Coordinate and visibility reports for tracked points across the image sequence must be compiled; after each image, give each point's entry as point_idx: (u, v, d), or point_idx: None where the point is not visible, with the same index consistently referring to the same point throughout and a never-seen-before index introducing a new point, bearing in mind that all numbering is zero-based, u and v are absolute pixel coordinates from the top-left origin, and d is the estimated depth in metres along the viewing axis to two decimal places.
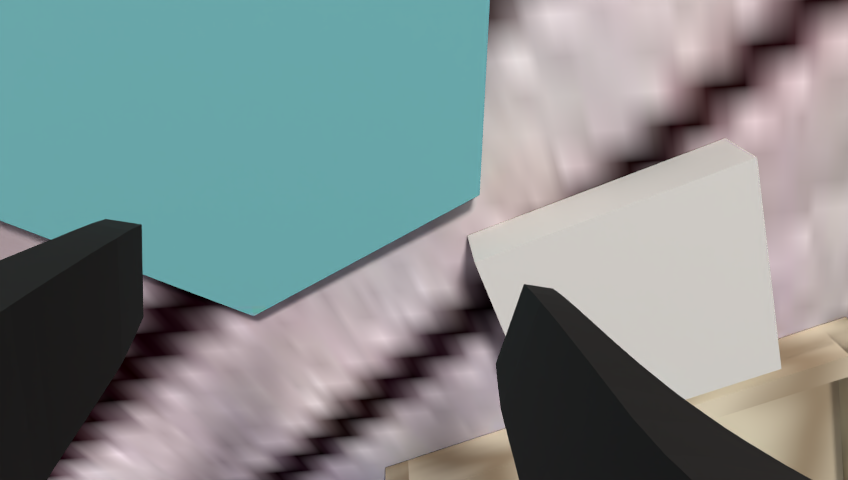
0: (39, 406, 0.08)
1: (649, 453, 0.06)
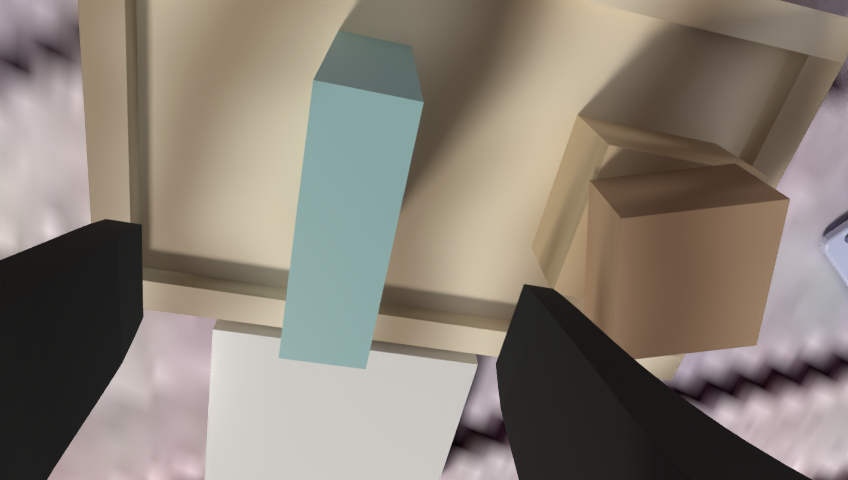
0: (38, 407, 0.08)
1: (649, 453, 0.06)
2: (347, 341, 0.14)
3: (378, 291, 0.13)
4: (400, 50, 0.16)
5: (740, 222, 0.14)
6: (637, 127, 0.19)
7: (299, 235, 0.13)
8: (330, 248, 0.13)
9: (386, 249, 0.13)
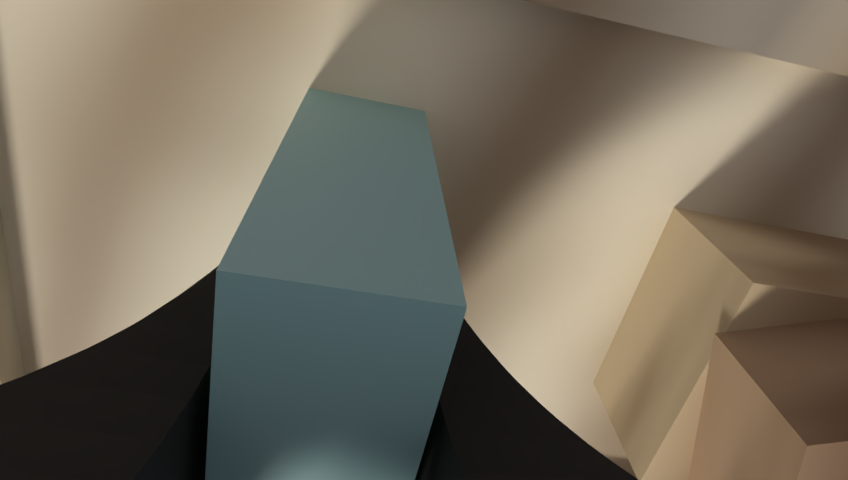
0: None
1: (441, 430, 0.06)
2: None
3: None
4: (408, 124, 0.10)
5: None
6: (762, 224, 0.12)
7: None
8: None
9: None
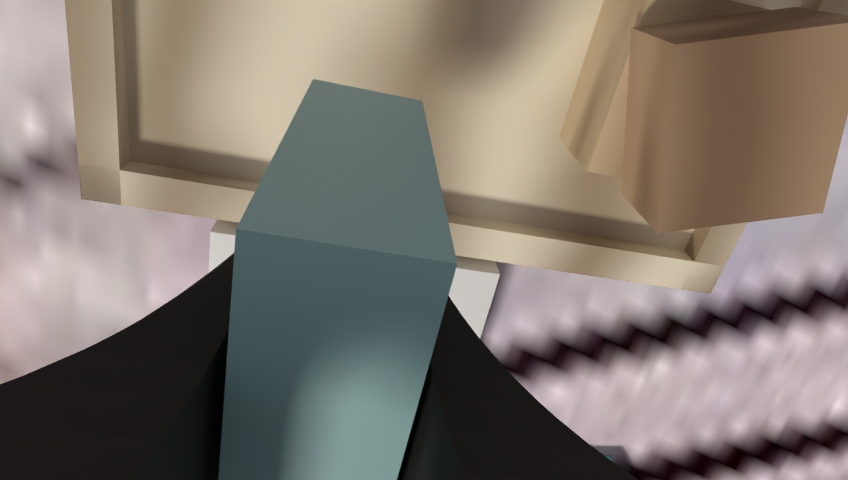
0: None
1: (441, 430, 0.06)
2: None
3: None
4: (406, 112, 0.10)
5: (813, 50, 0.12)
6: None
7: (229, 473, 0.07)
8: None
9: None
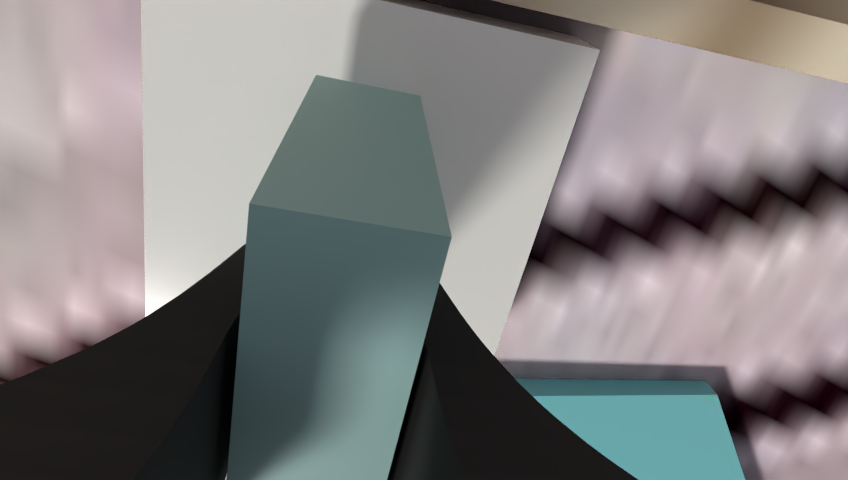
0: (224, 427, 0.08)
1: (441, 430, 0.06)
2: None
3: None
4: (405, 106, 0.11)
5: None
6: None
7: (240, 438, 0.08)
8: (293, 454, 0.08)
9: (385, 453, 0.08)
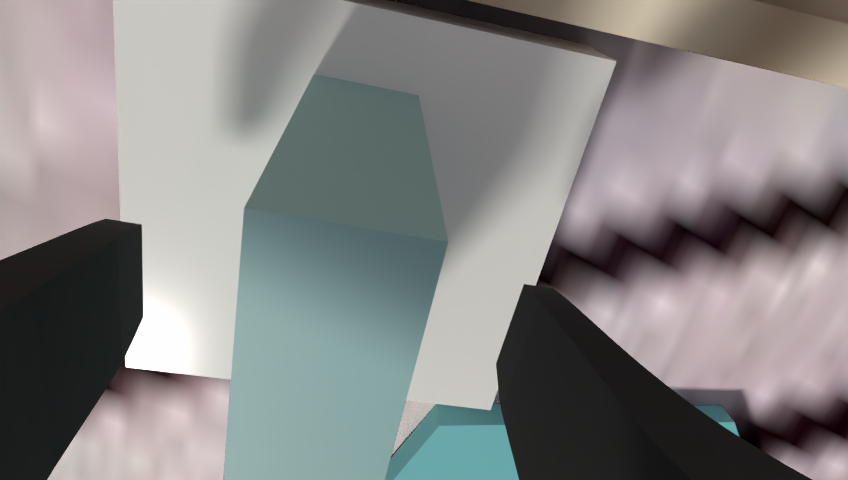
0: (38, 407, 0.08)
1: (649, 453, 0.06)
2: None
3: None
4: (403, 106, 0.11)
5: None
6: None
7: (236, 441, 0.08)
8: (289, 458, 0.08)
9: (382, 456, 0.08)
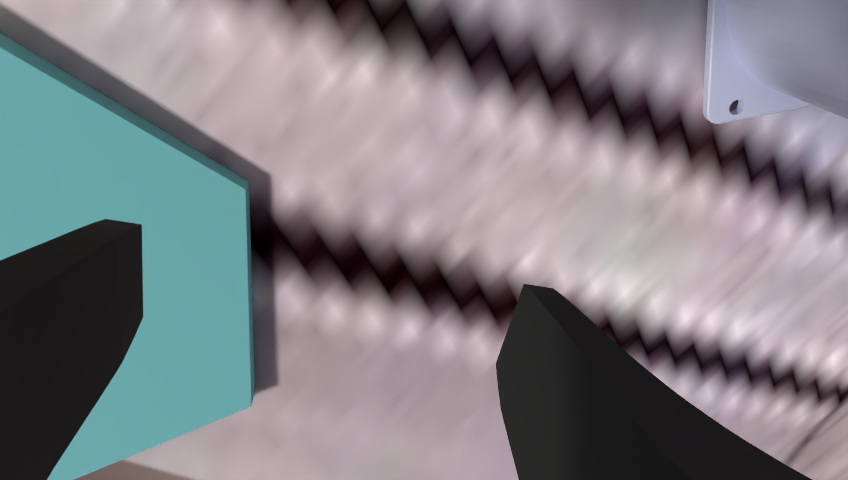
0: (39, 406, 0.08)
1: (649, 453, 0.06)
2: None
3: None
4: None
5: None
6: None
7: None
8: None
9: None
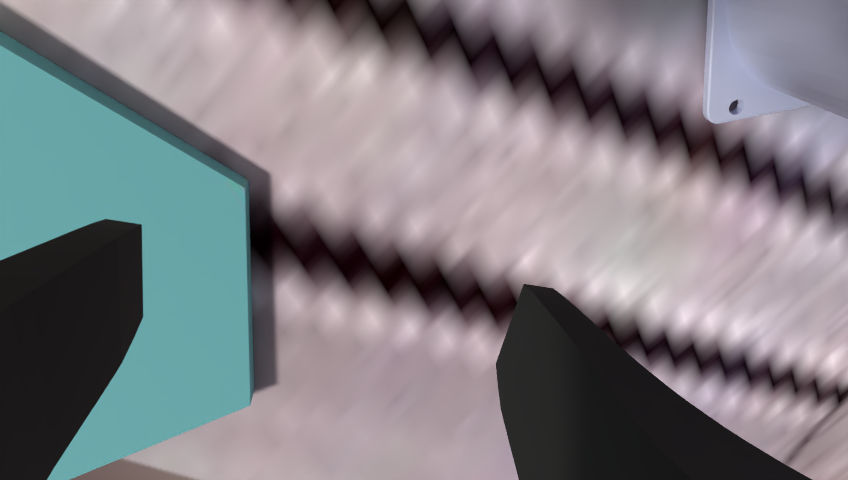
0: (39, 406, 0.08)
1: (649, 453, 0.06)
2: None
3: None
4: None
5: None
6: None
7: None
8: None
9: None
